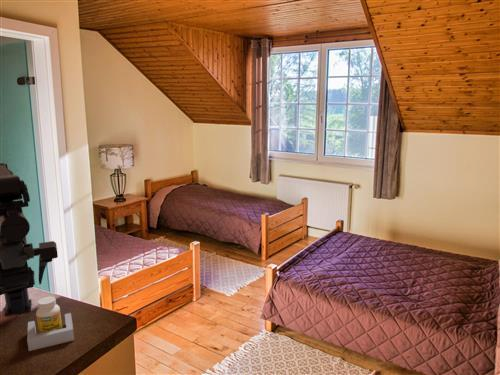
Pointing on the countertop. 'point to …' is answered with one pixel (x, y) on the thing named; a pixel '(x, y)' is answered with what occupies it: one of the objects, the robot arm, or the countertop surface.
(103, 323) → the countertop surface
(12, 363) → the countertop surface
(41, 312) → the supplement bottle
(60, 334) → the notched board
